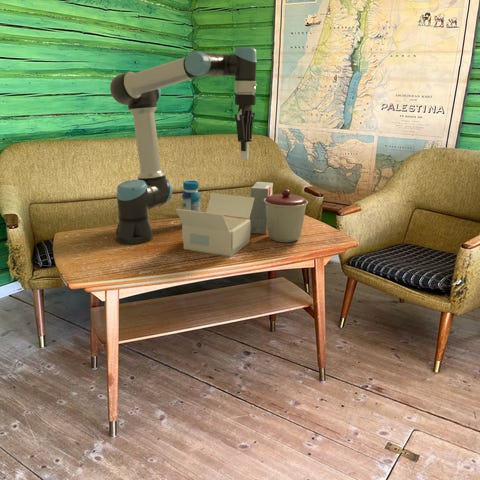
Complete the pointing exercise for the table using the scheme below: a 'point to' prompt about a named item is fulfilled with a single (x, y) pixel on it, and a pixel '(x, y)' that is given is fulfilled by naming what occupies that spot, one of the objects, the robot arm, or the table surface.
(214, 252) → the carton
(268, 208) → the canister
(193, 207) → the beverage bottle
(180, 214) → the flap near
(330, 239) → the table surface
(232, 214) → the flap far
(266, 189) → the hard drive box
